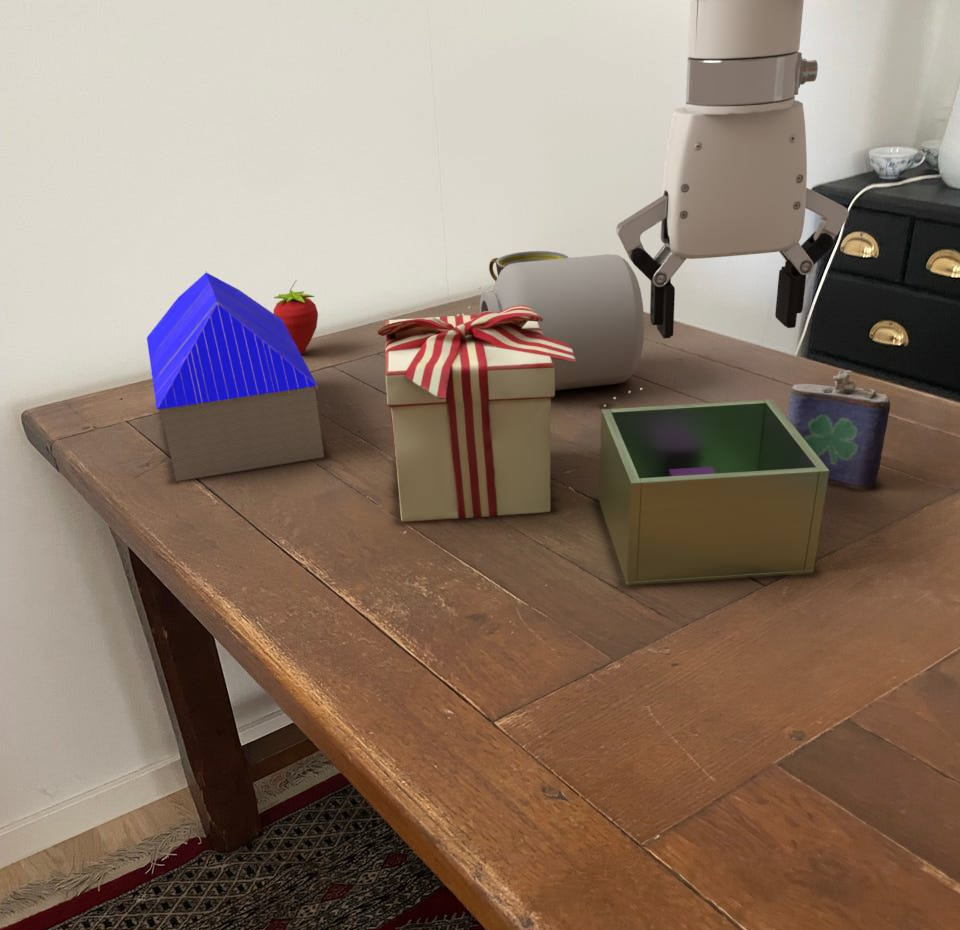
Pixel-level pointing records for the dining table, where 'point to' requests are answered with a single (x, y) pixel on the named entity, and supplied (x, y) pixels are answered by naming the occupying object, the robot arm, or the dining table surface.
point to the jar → (579, 313)
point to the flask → (842, 428)
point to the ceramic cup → (522, 259)
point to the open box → (709, 492)
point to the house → (230, 384)
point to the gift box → (471, 413)
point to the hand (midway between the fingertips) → (724, 328)
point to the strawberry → (298, 317)
